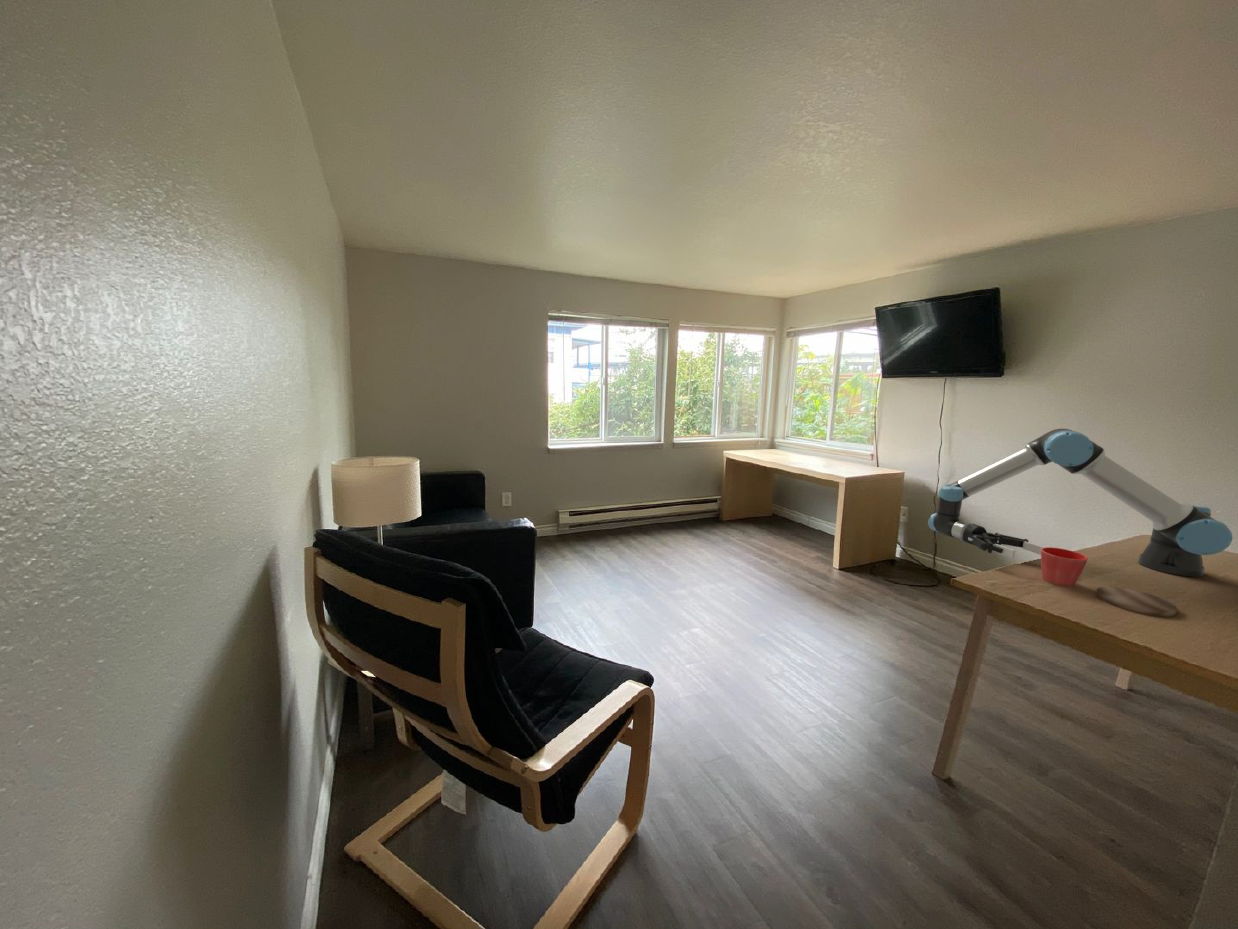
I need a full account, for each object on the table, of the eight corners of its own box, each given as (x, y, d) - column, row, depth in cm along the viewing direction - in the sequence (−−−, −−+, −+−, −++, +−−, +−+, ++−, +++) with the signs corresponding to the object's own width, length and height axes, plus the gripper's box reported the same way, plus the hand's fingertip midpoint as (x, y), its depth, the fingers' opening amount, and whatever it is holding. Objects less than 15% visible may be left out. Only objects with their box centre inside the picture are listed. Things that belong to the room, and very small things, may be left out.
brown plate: (1139, 593, 146) (1140, 588, 145) (1194, 619, 130) (1195, 613, 130) (1081, 589, 148) (1082, 584, 147) (1128, 614, 132) (1129, 609, 132)
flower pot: (1084, 592, 145) (1090, 562, 144) (1037, 582, 152) (1042, 553, 150) (1079, 581, 154) (1085, 552, 152) (1034, 572, 160) (1039, 544, 158)
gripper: (993, 540, 185) (1054, 560, 165) (941, 544, 179) (998, 566, 158) (996, 521, 184) (1058, 540, 163) (944, 525, 177) (1002, 544, 157)
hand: (1029, 553), depth 161 cm, fingers open, 13 cm apart
